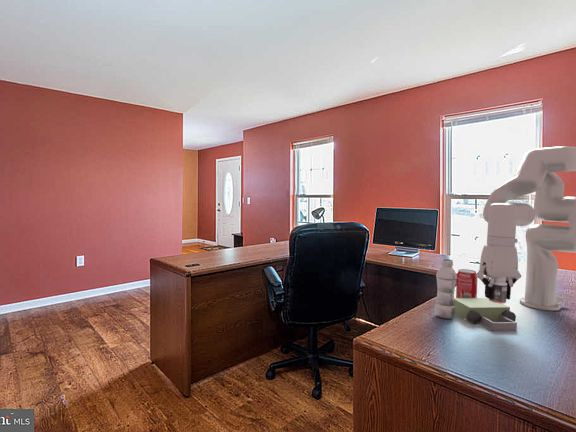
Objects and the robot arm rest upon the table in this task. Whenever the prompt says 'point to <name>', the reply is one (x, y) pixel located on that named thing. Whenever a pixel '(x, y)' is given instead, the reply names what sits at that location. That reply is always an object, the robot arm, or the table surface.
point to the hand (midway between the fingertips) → (497, 297)
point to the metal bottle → (445, 290)
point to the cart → (486, 313)
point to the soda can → (466, 284)
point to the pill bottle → (499, 290)
